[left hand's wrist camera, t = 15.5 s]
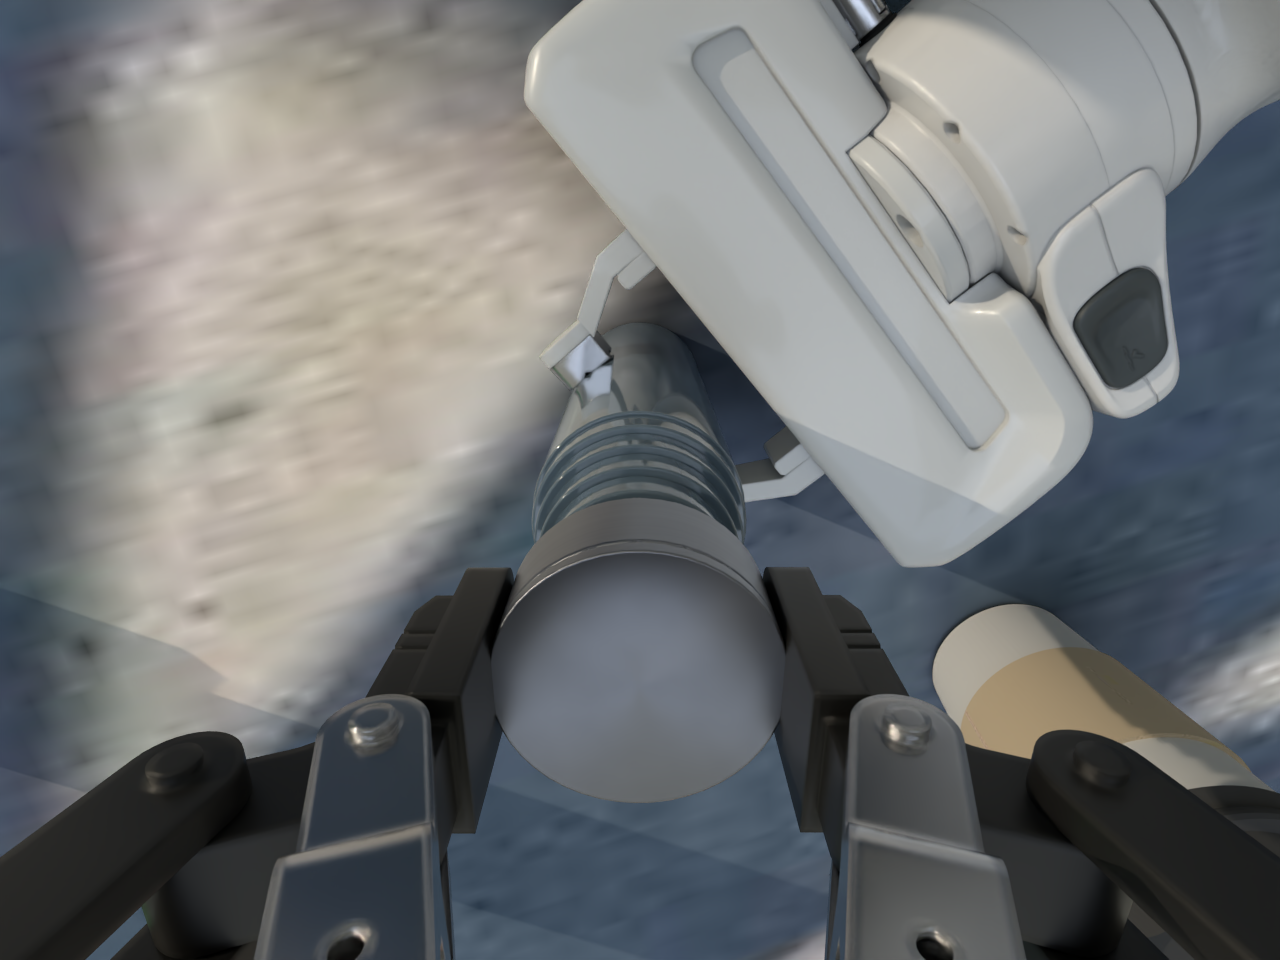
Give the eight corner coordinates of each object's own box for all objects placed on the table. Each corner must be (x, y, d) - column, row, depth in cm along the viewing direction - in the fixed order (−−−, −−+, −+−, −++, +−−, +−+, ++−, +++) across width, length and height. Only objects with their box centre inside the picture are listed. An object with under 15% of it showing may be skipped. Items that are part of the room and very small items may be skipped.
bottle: (600, 305, 29) (523, 477, 10) (714, 343, 29) (853, 576, 10) (567, 418, 30) (444, 751, 11) (675, 452, 31) (732, 823, 12)
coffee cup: (1129, 661, 35) (1463, 965, 21) (980, 764, 37) (1190, 1100, 23) (1025, 548, 32) (1321, 802, 18) (873, 665, 35) (1033, 971, 21)
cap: (461, 566, 12) (427, 633, 10) (697, 450, 11) (708, 497, 9) (590, 752, 13) (582, 840, 11) (807, 659, 13) (836, 737, 11)
